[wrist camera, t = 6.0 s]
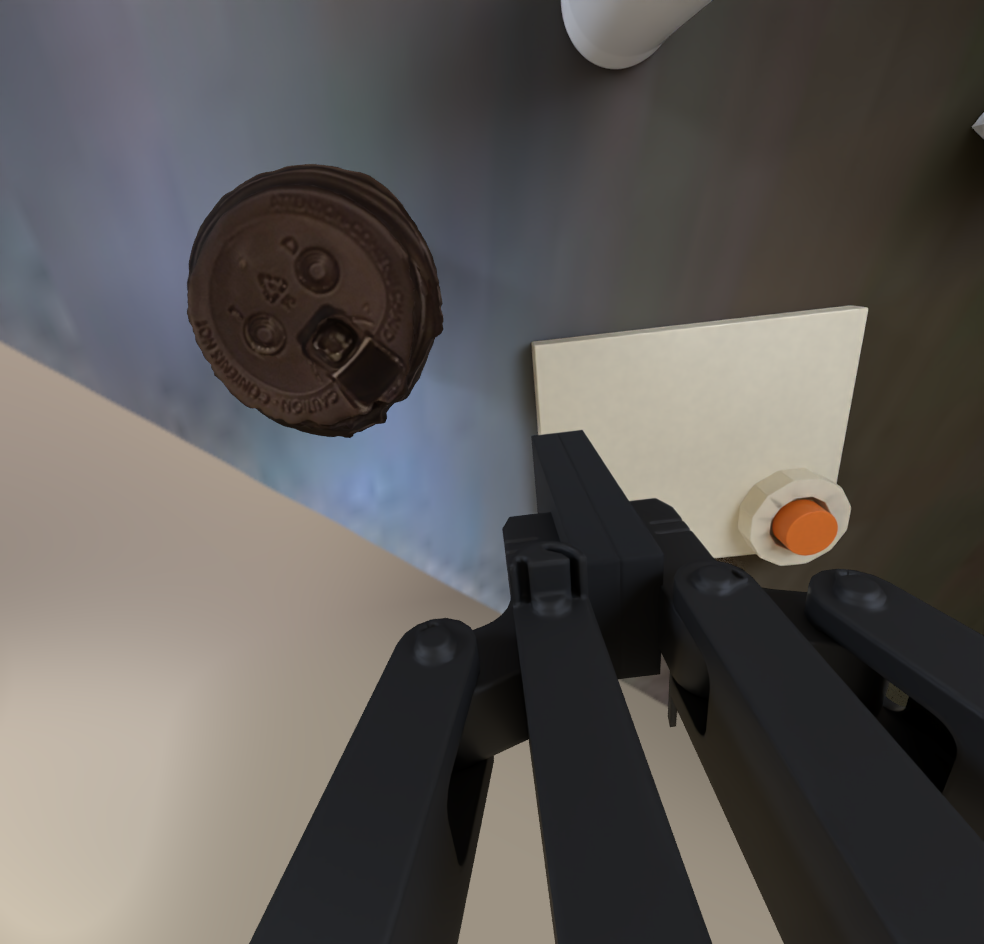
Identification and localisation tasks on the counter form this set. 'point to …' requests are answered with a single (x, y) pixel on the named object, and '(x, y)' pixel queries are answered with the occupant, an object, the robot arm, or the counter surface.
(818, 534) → the button
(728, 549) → the scale
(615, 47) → the drinking glass
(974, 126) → the grey tapered block
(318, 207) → the coffee cup
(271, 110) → the counter surface
